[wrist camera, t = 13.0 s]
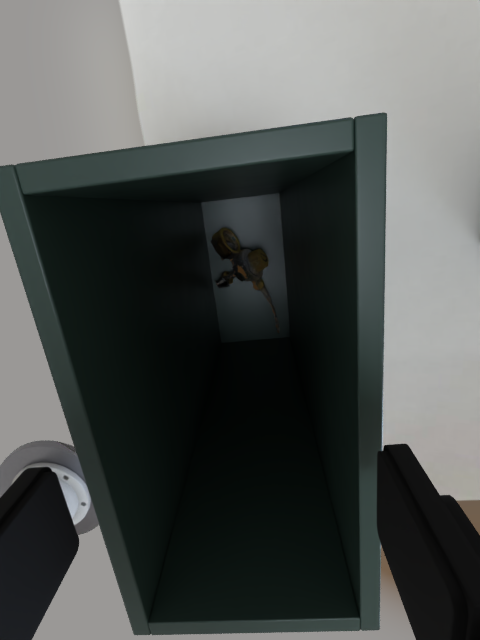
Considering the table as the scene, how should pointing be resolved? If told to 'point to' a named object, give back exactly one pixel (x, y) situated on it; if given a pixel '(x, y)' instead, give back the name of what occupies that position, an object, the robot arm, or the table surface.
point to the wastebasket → (220, 367)
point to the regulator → (241, 264)
